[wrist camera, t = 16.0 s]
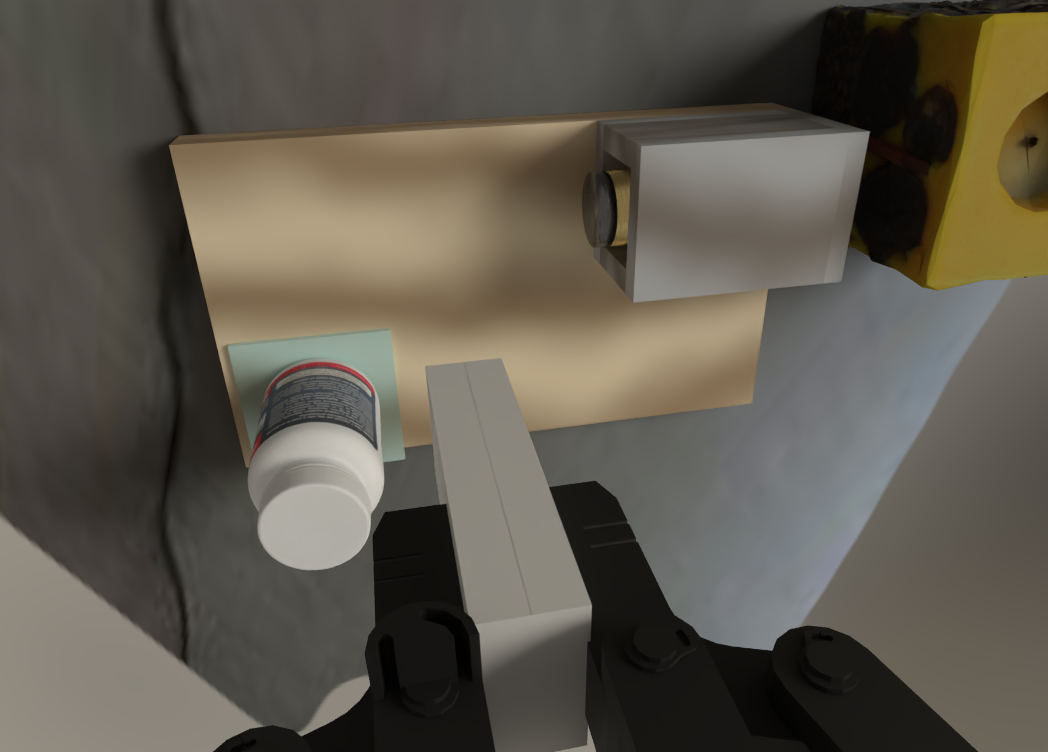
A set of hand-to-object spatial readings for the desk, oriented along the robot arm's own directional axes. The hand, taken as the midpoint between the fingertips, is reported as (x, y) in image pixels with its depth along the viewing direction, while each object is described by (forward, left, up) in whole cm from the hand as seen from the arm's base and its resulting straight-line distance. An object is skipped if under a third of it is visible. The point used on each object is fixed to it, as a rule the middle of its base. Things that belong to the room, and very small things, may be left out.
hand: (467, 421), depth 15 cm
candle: (-1, +24, -21) cm, 32 cm away
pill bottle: (+10, -5, -19) cm, 21 cm away
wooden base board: (+5, +4, -21) cm, 22 cm away
